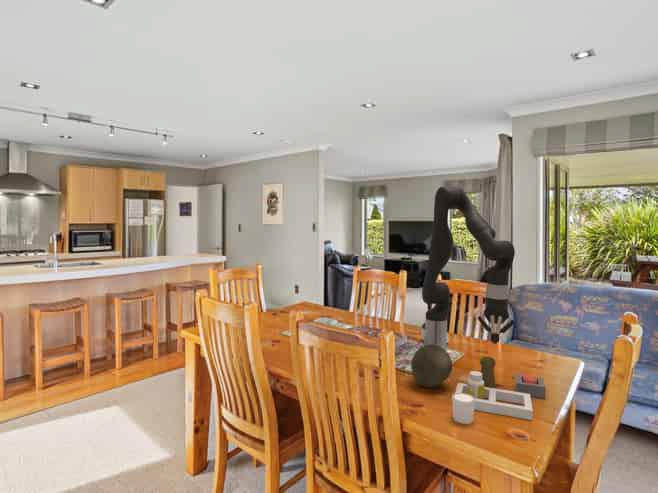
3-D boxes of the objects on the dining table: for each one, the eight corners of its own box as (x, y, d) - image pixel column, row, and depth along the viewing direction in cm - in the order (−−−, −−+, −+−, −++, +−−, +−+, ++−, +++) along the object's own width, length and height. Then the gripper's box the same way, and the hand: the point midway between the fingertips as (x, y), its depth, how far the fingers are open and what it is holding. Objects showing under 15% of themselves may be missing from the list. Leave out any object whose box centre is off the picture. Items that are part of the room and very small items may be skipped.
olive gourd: (497, 391, 142) (498, 361, 141) (479, 389, 143) (480, 359, 142) (494, 384, 148) (495, 355, 147) (477, 382, 149) (477, 354, 148)
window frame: (453, 406, 131) (454, 397, 130) (457, 390, 142) (457, 382, 142) (532, 420, 122) (532, 410, 121) (529, 402, 133) (530, 394, 133)
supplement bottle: (483, 399, 136) (484, 371, 135) (484, 406, 130) (485, 377, 130) (466, 397, 137) (467, 369, 137) (466, 403, 132) (467, 375, 131)
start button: (523, 387, 140) (523, 379, 140) (522, 382, 144) (522, 374, 144) (537, 389, 139) (537, 381, 138) (536, 384, 143) (536, 376, 142)
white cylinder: (447, 414, 125) (448, 392, 125) (468, 413, 126) (469, 392, 125) (456, 425, 118) (457, 403, 118) (478, 424, 119) (479, 402, 119)
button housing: (515, 394, 139) (516, 383, 139) (515, 384, 148) (515, 373, 147) (545, 398, 136) (545, 387, 136) (542, 388, 144) (543, 377, 144)
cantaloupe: (421, 395, 138) (421, 353, 137) (405, 379, 152) (406, 341, 151) (458, 392, 141) (459, 350, 140) (439, 376, 155) (440, 338, 154)
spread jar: (418, 340, 199) (419, 318, 198) (435, 337, 204) (436, 315, 204) (435, 347, 189) (436, 323, 188) (453, 344, 194) (453, 320, 193)
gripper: (477, 296, 142) (475, 343, 143) (518, 300, 137) (515, 348, 138) (477, 292, 149) (475, 337, 150) (516, 295, 144) (514, 342, 145)
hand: (494, 343), depth 144 cm, fingers closed
